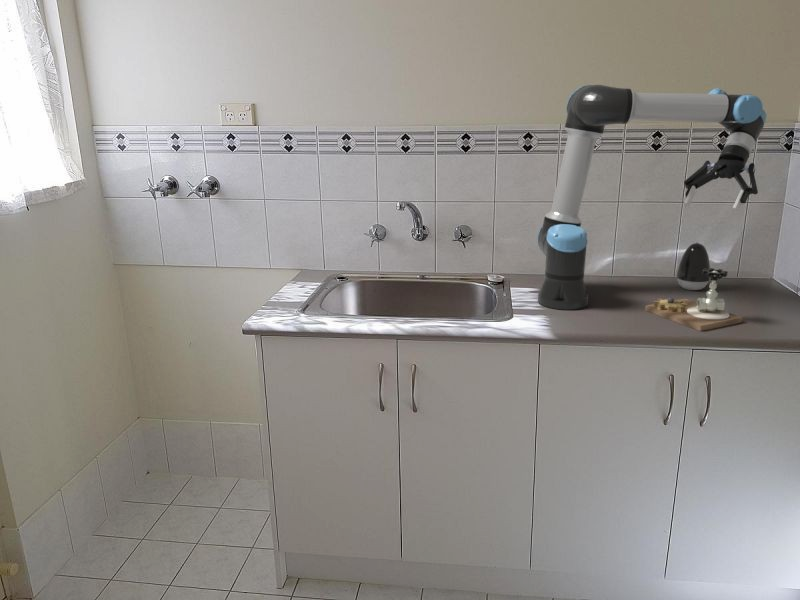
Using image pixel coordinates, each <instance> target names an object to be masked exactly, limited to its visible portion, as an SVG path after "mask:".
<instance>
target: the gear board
mask: <svg viewBox="0 0 800 600" xmlns="http://www.w3.org/2000/svg"><path fill="white" fill-rule="evenodd" d="M696 303H697V301H694V300H691V299H688V298H681V299H676V300H675V298H673V297H668V298H667V299H663V298H657V300H654V303H653V304H646V305H645V307H644V308H645V309H644V311H645V312H648V313H650V314H653V315H656V316H660V317H662V318H664V319H666V320H669V321H673V322H675V323H678V324H680V325H683V326H686V327H689V328H690V329H693V330H696V331H699V332H702V331H707V330H712V329H717V328H723V327H726V326H732V325H736V324H741V323H743V319H744V318H743V317H744V316H743V317H742V316H740V315H736V314H733V313H730V312H728V311H726V310H725V309H724V310H723V311H714V312H707V311H705V310H704V311H698V310H697V307H696Z"/></svg>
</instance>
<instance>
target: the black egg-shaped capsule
mask: <svg viewBox="0 0 800 600" xmlns="http://www.w3.org/2000/svg"><path fill="white" fill-rule="evenodd" d="M710 268H711V262H710V257H709V254H708V250H707V249H706V247H705V246H704V245H703V244H702V243H699V242H695V243H692V244H690V245H689V246H688V247H687V248H686V250H685V251H684V253H683V255H682V257H681V259H680V261H679V264H678V266H677V271H676V275H675V277H676V278H677V283H678V285H679V286H680V287H681V288H682V289H685V290H688V291H700V290H703V289H705V288H706V286H707V285H708V283H709V281H711V280H710V277H709V276H707V273H705V275H704V274H702V271H703V270H704V269H710Z"/></svg>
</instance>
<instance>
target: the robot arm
mask: <svg viewBox="0 0 800 600" xmlns="http://www.w3.org/2000/svg"><path fill="white" fill-rule="evenodd" d="M763 106H764V105H763V102H762V100H761V99H760V97H758V96H756V95H754V94H749V93H748V94H747V93H746V94H728V93H727V92H726V91H725V90H722V89H721V88H718V87H717V88H716V87H715V88H714V89H712V90H711V91H709V92H708V93H682V92H681V93H680V92H679V93H675V92H674V93H672V92H671V93H670V92H635V91H634V90H633V89H632V88H625V87H624V88H623V87H622V88H621V87H615V86H614V87H613V86H608V85H603V84H587V85H582V86H580V87H579V88H577V89H576V90H575V91H573V92H572V94H571V95H570V96H569V98H568V100H567V104H566V113H567V115H566V120H565V124H564V129H565V131H566V133H567V139H566V143H565V148H564V152H563V156H562V161H561V164H560V170H559V174H558V179H557V183H556V186H555V187H556V188H555V191H554V195H553V201H552V205H551V209H550V211H548V212H547V213H546V214H544V219H543V222H542V223H543V224H542V226H541V227H540V228H539V231H538V233H537V245H538V247H539V249H540V251H541V252H542V253H543V255H545V269H544V279H543V281H542V283H541V285H540V286H541V287H540V289H539V290H540V291H538V294H537V302H538V304H539V305H541V306H542V307H543V306H544V307H547V308H550V309H554V310H555V309H557V310H566V311H567V310H578V309H583V308H586V307H587V306H588V304H589V295H588V290H587V287H586V282H585V270H586V269H585V268H586V257H587V255H586V253H587V245H588V233H587V231H586V229H584V228H583V227H581V225H582V220H581V218H580V217H579V213H580V209H581V205H582V200H583V196H584V192H585V190H586V189H585V188H586V184H587V179H588V176H589V171H590V168H591V162H592V159H593V156H594V151H595V146H596V141H597V139H598V138H600V137H602V136H603V134H604V130H605V127H606V126H608V125H609V126H610V125H619V124H620V125H627V124H629V123H630V122H631V121H641V122H642V121H643V122H644V121H650V122H651V121H652V122H690V123H691V122H692V123H693V122H695V123H696V122H698V123H699V122H702V123H718V124H719V125H720V126H722V127H724V128H725V129H726V130H727V131H729V132H730V133H729V135H728V138H727V140H726V142H725V144H724V146H723V149H722V150H721V152H720V155H719V157H718V158H717V161H715V163H714V162H710V160H705V162H704V163H703V165H702V166H701V167H700V168H698V169H697V170H696V171H695V172H694V173H692V174H691V175H690V176H689V177H688V178H687V179H685V180H684V181H683V185H684V187H685V188H686V191H685V200H684V202H683V204H684V207H685V209H686V210H689V209H690V207H691V204H692V202H693V200H694V198H695V196H696V194H697V189H699V188H701V187H703V186H704V185H706V184H708V183H710V182H711V181H714V180H717V179H718V178H719V179H727V180H728V179H729V180H732V179H733V178H734V179H735V181H736V182H737V183H738V185H739V187H740V188H741V189H740V191H739V192H738V195H737V197H736V199H735V202H734V204H733V206H732V210H733V214H734V215H737V214H738V212H739V210H740V208H741V206H742V204H745V203H747V201H748V199H749V196H751V195H758V194H759V191H758V186H757V182H756V181H757V180H756V176H755V173H756V165H755V163H754V162H750V163H749V164H748V165H747V162H748V161H749V158H750V155H751V154H752V151H753V149H754V147H755V145H756V142H757V141H758V138H759V136H760V134H761V132H762V130H763V128H764V126H765V124H766V120H767V113H766V111H765V109H763ZM744 171H746V173H747V174H748V177H749V181H750V185H751V187H749V185H748V183H747V182H746V180H745V179H744V178H743V175H741V173H743V172H744Z"/></svg>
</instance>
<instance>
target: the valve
mask: <svg viewBox="0 0 800 600" xmlns="http://www.w3.org/2000/svg"><path fill="white" fill-rule="evenodd" d="M728 272H729V271H728V270H723V269H722V268H718V269H715V268H713V267H710V269H704V270H703V271H702V274H704V275H705V273H707V276H709V277H710V280H709V281H711V282H709V285H708V288H709V289H708V290H707V291H706V292H705V296H706V298H705V297H698V298H697V299H696V302H697V303H696V307H697V310H698V311H704V310H705V311H707V312H714V311H723V310H724V311H725V309H726V308H725V306H726V303H725V299H724V298H717V297H718V295H719V292H717V290H716V289H717V287H718V283H716V282H717V281H718V280H721V279H722V278H726V277H727V276H728Z"/></svg>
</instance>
